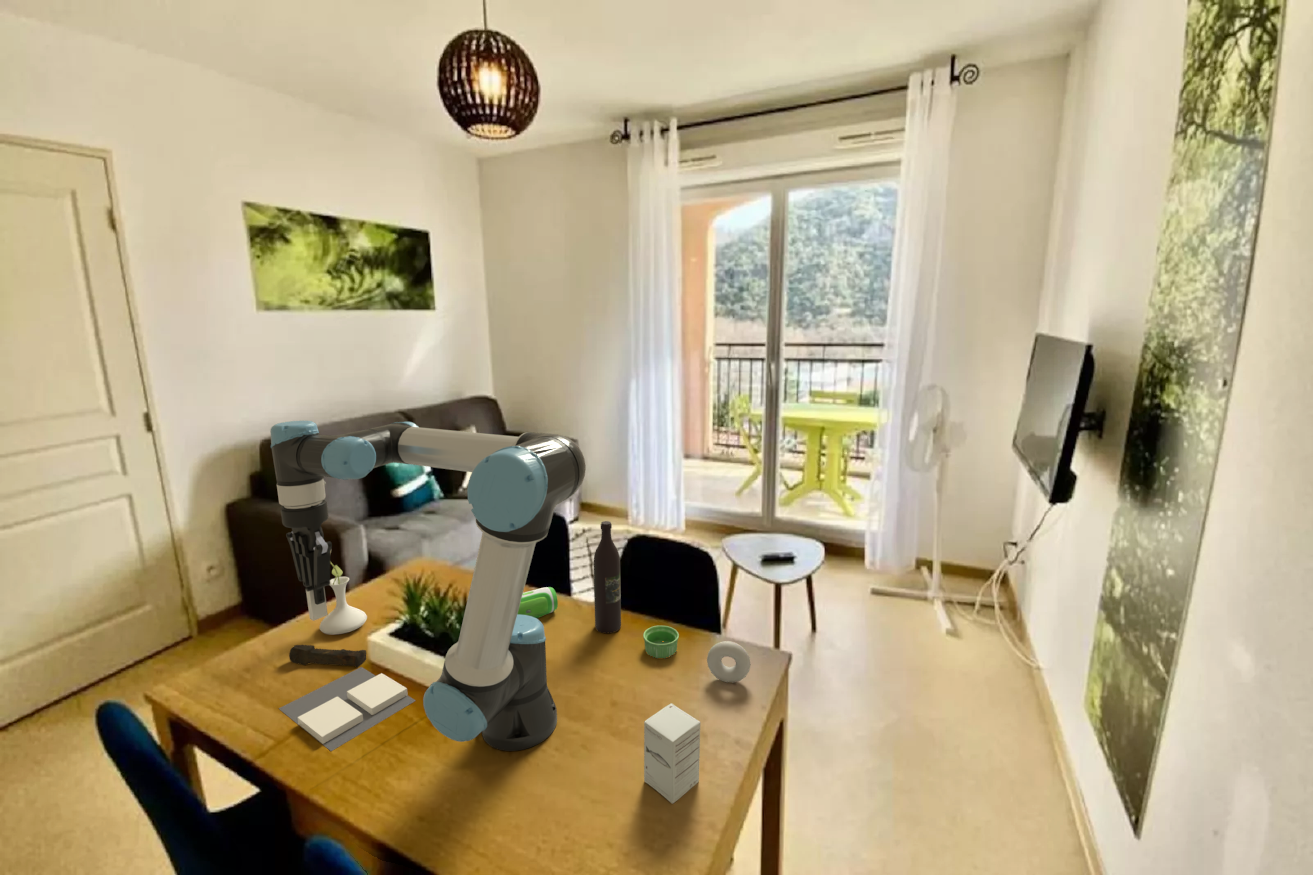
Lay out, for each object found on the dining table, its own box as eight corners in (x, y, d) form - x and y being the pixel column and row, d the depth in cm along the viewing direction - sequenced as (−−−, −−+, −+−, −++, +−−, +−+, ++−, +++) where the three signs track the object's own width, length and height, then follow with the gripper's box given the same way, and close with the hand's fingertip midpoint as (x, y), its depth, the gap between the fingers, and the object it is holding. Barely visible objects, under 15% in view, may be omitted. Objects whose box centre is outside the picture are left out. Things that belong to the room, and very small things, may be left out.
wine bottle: (605, 637, 149) (603, 529, 143) (589, 626, 154) (587, 522, 148) (626, 627, 154) (625, 523, 148) (610, 617, 159) (608, 516, 153)
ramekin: (636, 649, 144) (635, 633, 143) (662, 636, 150) (662, 621, 149) (659, 665, 137) (659, 648, 136) (686, 651, 143) (686, 635, 142)
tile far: (382, 679, 131) (407, 695, 125) (347, 698, 124) (372, 715, 119) (381, 673, 130) (407, 688, 125) (346, 691, 124) (371, 708, 118)
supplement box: (642, 782, 102) (642, 720, 100) (671, 760, 107) (671, 701, 105) (672, 806, 97) (672, 742, 94) (700, 782, 102) (701, 720, 100)
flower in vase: (329, 619, 159) (318, 534, 154) (373, 615, 161) (363, 532, 156) (310, 644, 146) (298, 553, 141) (358, 640, 148) (347, 550, 143)
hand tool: (369, 661, 139) (367, 644, 138) (358, 671, 135) (356, 653, 134) (299, 656, 142) (296, 639, 141) (286, 665, 138) (284, 648, 137)
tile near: (338, 703, 122) (363, 721, 117) (298, 724, 116) (323, 744, 110) (337, 696, 122) (362, 713, 117) (297, 717, 116) (322, 736, 110)
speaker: (497, 633, 151) (496, 607, 150) (489, 621, 157) (488, 596, 156) (559, 615, 161) (558, 591, 159) (549, 605, 167) (548, 581, 165)
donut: (705, 682, 130) (706, 643, 128) (707, 673, 134) (708, 635, 132) (749, 689, 128) (750, 649, 126) (750, 680, 131) (751, 640, 129)
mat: (416, 702, 123) (415, 700, 123) (331, 754, 109) (331, 751, 109) (361, 669, 136) (361, 666, 135) (278, 711, 121) (278, 708, 121)
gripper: (341, 503, 107) (355, 618, 111) (307, 492, 114) (321, 600, 118) (299, 514, 101) (315, 635, 105) (266, 502, 108) (282, 615, 112)
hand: (318, 616), depth 112 cm, fingers closed
